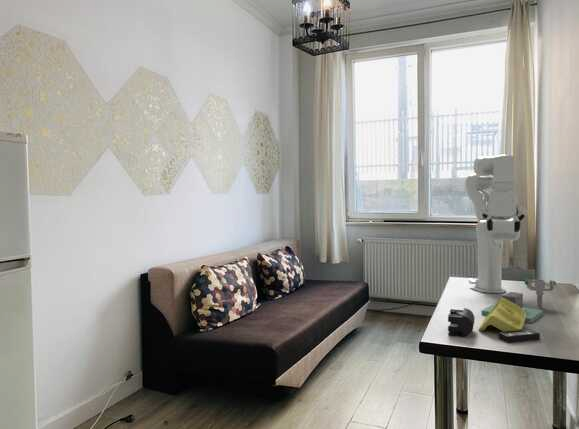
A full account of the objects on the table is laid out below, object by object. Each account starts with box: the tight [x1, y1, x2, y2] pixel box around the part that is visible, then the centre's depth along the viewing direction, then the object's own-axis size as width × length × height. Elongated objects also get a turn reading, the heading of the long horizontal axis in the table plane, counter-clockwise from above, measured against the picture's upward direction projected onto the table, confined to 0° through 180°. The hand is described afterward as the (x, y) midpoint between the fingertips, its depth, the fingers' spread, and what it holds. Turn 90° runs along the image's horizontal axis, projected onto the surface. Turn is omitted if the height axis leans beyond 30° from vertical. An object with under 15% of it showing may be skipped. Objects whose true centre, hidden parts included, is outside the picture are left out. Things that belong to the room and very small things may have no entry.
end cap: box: [447, 307, 475, 338], centre depth 135 cm, size 10×7×7 cm
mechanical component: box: [524, 278, 557, 308], centre depth 166 cm, size 3×10×10 cm, turn 78°
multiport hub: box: [498, 328, 541, 344], centre depth 129 cm, size 4×11×2 cm, turn 104°
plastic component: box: [478, 297, 526, 332], centre depth 141 cm, size 20×7×10 cm
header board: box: [480, 302, 544, 324], centre depth 155 cm, size 16×14×5 cm
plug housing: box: [502, 291, 524, 309], centre depth 155 cm, size 4×8×6 cm, turn 136°
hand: (503, 231), depth 170 cm, fingers open, 9 cm apart
